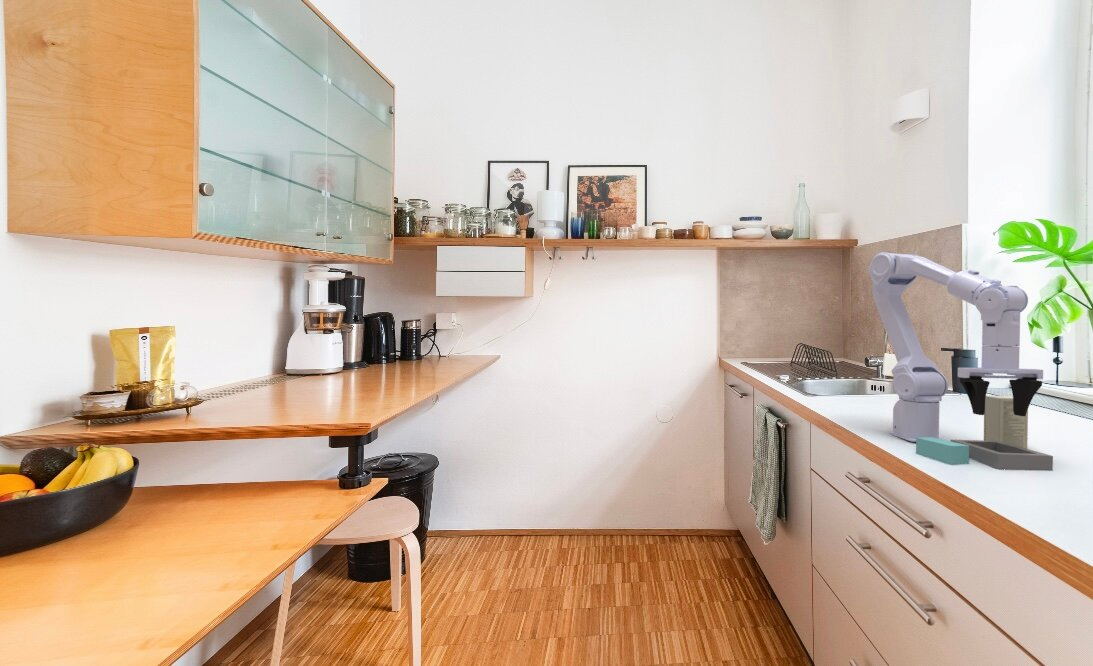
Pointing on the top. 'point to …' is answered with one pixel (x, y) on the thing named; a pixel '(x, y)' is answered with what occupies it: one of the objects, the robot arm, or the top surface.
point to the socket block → (1007, 456)
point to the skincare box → (1004, 422)
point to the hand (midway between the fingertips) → (999, 415)
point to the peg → (943, 450)
